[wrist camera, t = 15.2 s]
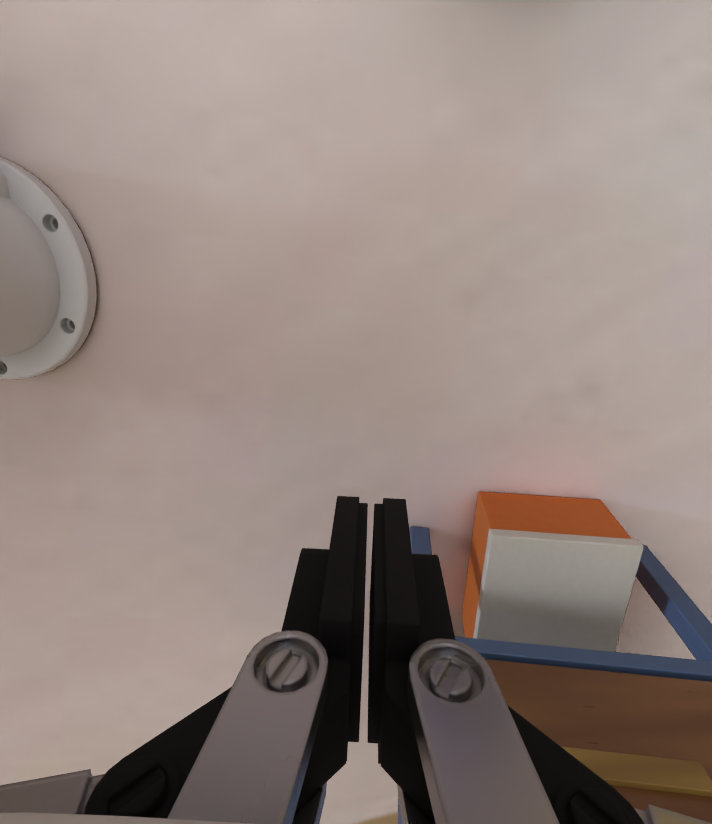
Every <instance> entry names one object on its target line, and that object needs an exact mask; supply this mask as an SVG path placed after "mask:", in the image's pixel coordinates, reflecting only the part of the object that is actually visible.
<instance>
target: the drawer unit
mask: <svg viewBox="0 0 712 824" xmlns="http://www.w3.org/2000/svg"><path fill="white" fill-rule="evenodd" d="M410 541H411V549H412V554H431V555H432V551H431V542H430V533H429V528H423V527H411V531H410ZM643 547H644V548H643V552H642V555H641V559H640V562H639V566H638V570H637V573H636V577H637V578H638V580H639V581H640V583H641V584H642V585H643V587H644V588H645V589H646V591H647V592H648V594H649V595H650V596H651V598H652V599H653V601H654V602H655V603H656V605H657V606H658V607H659V609H660V610H661V612H662V613H663V614H664V616H665V617H666V618H667V620H668V621H669V623H670V624H671V625H672V627H673V628H674V629H675V631H676V632H677V634H678V635H679V636H680V638H681V639H682V640H683V642H684V643H685V645H686V646H687V647H688V649H689V650H690V652H691V653H692V654H693V656H694V657H695V658H696V660H692V659H681V658H671V657H661V656H651V655H640V654H630V653H620V652H610V651H599V650H589V649H579V648H569V647H558V646H548V645H538V644H528V643H517V642H507V641H497V640H487V639H476V638H466V637H456V636H455V640H456V641H459V642H462V643H465V644H466V645H468V646H470V647H472V648H473V649H475V650H476V651H477V652H478V653H479V654H480V655H481V656H482V657H484V658H485V659H490V660H500V661H510V662H519V663H529V664H539V665H549V666H559V667H569V668H579V669H589V670H599V671H609V672H619V673H629V674H639V675H649V676H659V677H669V678H679V679H689V680H699V681H709V682H712V624H711V623H710V622H709V620H708V619H707V618H706V617H705V616H704V614H703V613H702V612H701V611H700V610H699V608H698V607H697V606H696V605H695V604H694V602H693V601H692V600H691V599H690V598H689V596H688V595H687V594H686V593H685V592H684V590H683V589H682V588H681V587H680V586H679V584H678V583H677V582H676V581H675V580H674V578H673V577H672V576H671V575H670V574H669V572H668V571H667V570H666V569H665V568H664V566H663V565H662V564H661V563H660V562H659V560H658V559H657V558H656V557H655V556H654V554H653V553H652V552H651V551H650V550H649V548H648V547H647V546H643ZM398 824H402V818H401V812H400V806H399V800H398Z"/></svg>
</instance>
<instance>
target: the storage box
mask: <svg viewBox="0 0 712 824" xmlns="http://www.w3.org/2000/svg"><path fill="white" fill-rule="evenodd" d="M643 548H644V547H643V545H642V544H641V543H640V542H639V540H637V539H632V538H631V537H630V536H629V535H628V533H627V532H626V531H625V530H624V528H623V527H622V526H621V525H620V523H619V522H618V521H617V520H616V519H615V517H614V516H613V515H612V514H611V512H610V511H609V510H608V509H607V507H606V506H605V505H604V504H603V502H602V501H601V500H598V499H583V498H568V497H554V496H539V495H524V494H509V493H494V492H478V498H477V505H476V513H475V520H474V528H473V535H472V543H471V551H470V558H469V566H468V573H467V581H466V588H465V596H464V603H463V611H462V621H463V626H464V632H465V637H466V638H476V639H487V640H497V641H507V642H517V643H528V644H538V645H548V646H558V647H569V648H579V649H589V650H599V651H610V652H615V648H616V645H617V641H618V638H619V634H620V630H621V627H622V623H623V620H624V616H625V613H626V609H627V605H628V602H629V598H630V595H631V591H632V588H633V584H634V580H635V577H636V573H637V570H638V566H639V562H640V559H641V555H642V552H643Z"/></svg>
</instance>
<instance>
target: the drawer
mask: <svg viewBox="0 0 712 824" xmlns="http://www.w3.org/2000/svg"><path fill="white" fill-rule="evenodd" d="M485 660H486V662H487V663H488V665H489V666H490V668H491V670H492V672H493V674H494V677H495V679H496V681H497V683H498V686H499V688H500V690H501V692H502V695H503V697H504V699H505V702H506V704H507V705H508V706H509V707H511V708H512V709H513V710H515V711H516V712H517V713H518V714H520V715H521V716H522V717H524V718H525V719H526V720H527V721H529V722H530V723H531V724H532V725H534V726H535V727H536V728H538V729H539V730H540V731H541V732H543V733H544V734H545V735H547V736H548V737H549V738H550V739H552V740H553V741H554V742H556V743H557V744H558V745H559V746H561V747H562V748H563V749H565V750H566V751H567V752H568V753H570V754H571V755H572V756H574V757H575V758H576V759H577V760H579V761H580V762H581V763H582V764H584V765H585V766H586V767H588V768H589V769H590V770H591V771H593V772H594V773H595V774H597V775H598V776H599V777H600V778H602V779H603V780H604V781H606V782H607V783H608V784H609V785H611V786H612V787H613V788H615V789H616V790H617V791H618V792H619V793H620V794H621V795H622V796H623V797H624V798H625V799H626V800H627V801H628V802H629V803H630V804H631V805H632V806H633V808H636V809H640V810H643V811H646V809H647V807H648V804H650V805H653V806H656V807H660V808H663V809H666V810H670V811H673V812H676V813H680V814H683V815H686V816H690V817H693V818H696V819H700V820H703V821H706V822H710V823H712V682H709V681H699V680H689V679H679V678H669V677H659V676H649V675H639V674H629V673H619V672H609V671H599V670H589V669H579V668H569V667H559V666H549V665H539V664H529V663H519V662H510V661H500V660H490V659H485Z"/></svg>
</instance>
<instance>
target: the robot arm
mask: <svg viewBox="0 0 712 824" xmlns="http://www.w3.org/2000/svg"><path fill="white" fill-rule="evenodd" d="M96 300H97V293H96V276H95V272H94V268H93V263H92V259H91V255H90V252H89V250H88V247H87V245H86V242H85V240H84V237H83V235H82V233H81V231H80V229H79V228H78V226H77V224H76V223H75V221H74V219H73V218H72V216H71V214H70V212H69V211H68V210H67V209H66V207H65V206H64V205H63V204H62V203H61V201H60V200H59V199H58V198H57V196H56V195H55V194H54V193H53V192H52V191H51V190H50V189H49V188H48V187H47V186H45V185H44V184H43V183H42V182H41V181H40V180H39V179H38V178H36V177H35V176H34V175H33V174H31V173H29V172H28V171H26V170H25V169H23V168H22V167H20V166H18V165H17V164H15V163H13V162H11V161H9V160H6V159H4V158H1V157H0V379H11V380H19V379H24V378H29V377H34V376H37V375H40V374H43V373H46V372H48V371H51V370H53V369H55V368H57V367H59V366H60V365H62V364H64V363H65V362H67V361H68V360H69V359H70V358H71V357H72V356H73V355H74V354H75V353H76V352H77V351H78V350H79V349H80V347H81V346H82V344H83V342H84V341H85V339H86V338H87V336H88V334H89V331H90V328H91V325H92V323H93V320H94V315H95V308H96ZM367 507H368V503H359V497H346V496H337V502H336V509H335V516H334V522H333V529H332V536H331V542H330V549H308V548H302V550H301V553H300V557H299V561H298V565H297V569H296V573H295V578H294V582H293V586H292V590H291V594H290V598H289V602H288V607H287V611H286V615H285V619H284V623H283V627H282V631H281V632H277V633H274V634H271V635H269V636H267V637H265V638H263V639H262V640H261V641H260V642H258V643H257V644H256V645H255V646H254V647H253V648H252V650H251V651H250V653H249V654H248V656H247V658H246V660H245V662H244V664H243V666H242V668H241V670H240V672H239V674H238V676H237V678H236V680H235V682H234V684H233V686H232V687H231V688H229V689H228V690H226V691H225V692H223V693H222V694H220V695H219V696H217V697H216V698H214V699H213V700H211V701H210V702H208V703H207V704H205V705H204V706H202V707H200V708H199V709H197V710H196V711H194V712H193V713H191V714H190V715H188V716H187V717H185V718H184V719H182V720H181V721H179V722H178V723H176V724H175V725H173V726H172V727H170V728H169V729H167V730H166V731H164V732H162V733H161V734H159V735H158V736H156V737H155V738H153V739H152V740H150V741H149V742H147V743H146V744H144V745H143V746H141V747H140V748H138V749H137V750H135V751H134V752H132V753H131V754H129V755H128V756H126V757H124V758H123V759H122V760H121V761H119V762H118V763H117V764H116V765H114V766H113V767H112V768H111V769H109V770H108V771H107V773H106V774H103V775H98V776H92V774H91V770H90V769H89V770H84V771H78V772H72V773H67V774H61V775H56V776H50V777H45V778H39V779H34V780H28V781H23V782H17V783H12V784H6V785H1V786H0V824H319V822H320V818H321V813H322V809H323V804H324V800H325V795H326V785H327V781H328V780H329V779H330V778H331V777H332V776H333V775H334V774H335V773H336V772H337V771H338V770H340V769H341V768H342V767H343V766H344V765H345V764H346V761H347V747H348V742H359V724H360V702H361V680H362V658H363V636H364V609H365V575H366V541H367ZM368 743H378V763H380V764H381V767H382V768H383V769H384V770H385V771H386V772H387V773H388V774H389V775H390V776H391V778H392V779H393V780H394V781H395V782H396V783H397V784H398V800H399V806H400V812H401V818H402V824H712V823H710V822H706V821H703V820H700V819H696V818H693V817H690V816H686V815H683V814H680V813H676V812H673V811H670V810H666V809H663V808H660V807H656V806H653V805H650V804H648V807H647V809H646V811H643V810H640V809H636V808H633V806H632V805H631V804H630V803H629V802H628V801H627V800H626V799H625V798H624V797H623V796H622V795H621V794H620V793H619V792H618V791H617V790H616V789H615V788H613V787H612V786H611V785H609V784H608V783H607V782H606V781H604V780H603V779H602V778H600V777H599V776H598V775H597V774H595V773H594V772H593V771H591V770H590V769H589V768H588V767H586V766H585V765H584V764H582V763H581V762H580V761H579V760H577V759H576V758H575V757H574V756H572V755H571V754H570V753H568V752H567V751H566V750H565V749H563V748H562V747H561V746H559V745H558V744H557V743H556V742H554V741H553V740H552V739H550V738H549V737H548V736H547V735H545V734H544V733H543V732H541V731H540V730H539V729H538V728H536V727H535V726H534V725H532V724H531V723H530V722H529V721H527V720H526V719H525V718H524V717H522V716H521V715H520V714H518V713H517V712H516V711H515V710H513V709H512V708H511V707H509V706H508V705H507V704H506V702H505V699H504V697H503V695H502V692H501V690H500V688H499V686H498V683H497V681H496V679H495V677H494V674H493V672H492V670H491V668H490V666H489V665H488V663H487V662H486V660H485V658H484V657H482V656H481V655H480V654H479V653H478V652H477V651H476V650H475V649H473V648H472V647H470V646H468V645H466V644H465V643H462V642H459V641H456V640H455V636H454V631H453V626H452V621H451V616H450V611H449V606H448V601H447V596H446V591H445V586H444V581H443V576H442V571H441V566H440V561H439V558H438V556H437V555H431V554H412V549H411V541H410V532H409V524H408V515H407V507H406V500H405V499H390V498H383V504H375V505H374V525H373V545H372V565H371V585H370V619H369V684H368Z"/></svg>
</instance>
